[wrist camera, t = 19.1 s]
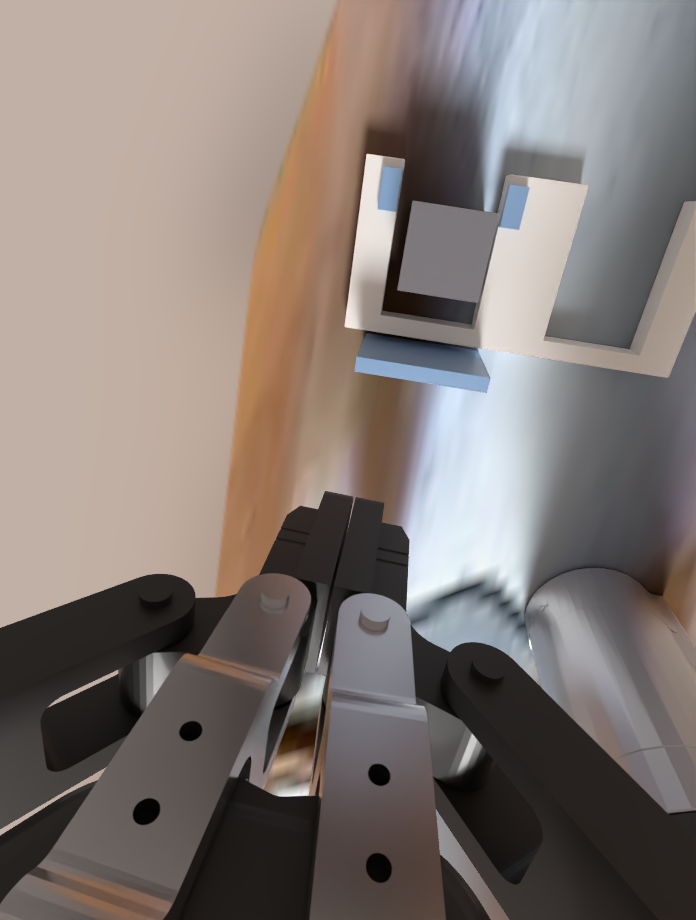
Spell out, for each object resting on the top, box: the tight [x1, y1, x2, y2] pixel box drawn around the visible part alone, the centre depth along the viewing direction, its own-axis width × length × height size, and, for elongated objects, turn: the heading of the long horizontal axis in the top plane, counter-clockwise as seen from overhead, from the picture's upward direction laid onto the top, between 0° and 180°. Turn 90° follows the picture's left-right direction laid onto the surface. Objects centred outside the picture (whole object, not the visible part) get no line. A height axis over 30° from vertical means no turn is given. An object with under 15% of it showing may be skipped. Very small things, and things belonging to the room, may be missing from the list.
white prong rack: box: [345, 154, 696, 393], centre depth 28 cm, size 19×10×6 cm, turn 83°
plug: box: [397, 201, 499, 303], centre depth 28 cm, size 4×4×6 cm
